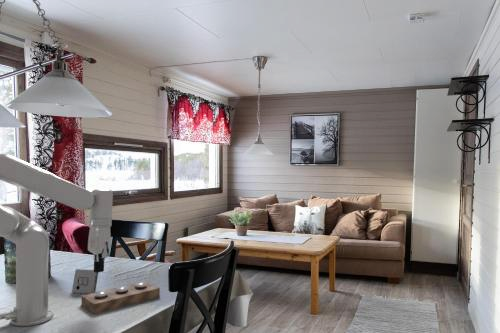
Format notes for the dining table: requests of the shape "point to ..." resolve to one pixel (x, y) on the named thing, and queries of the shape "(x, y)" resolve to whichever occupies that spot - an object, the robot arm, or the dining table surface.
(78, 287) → the electrical switch
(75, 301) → the dining table surface
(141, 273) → the dining table surface
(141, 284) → the knob far
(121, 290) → the knob mid
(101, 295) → the knob near
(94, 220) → the robot arm
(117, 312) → the dining table surface
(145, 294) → the knob mount
